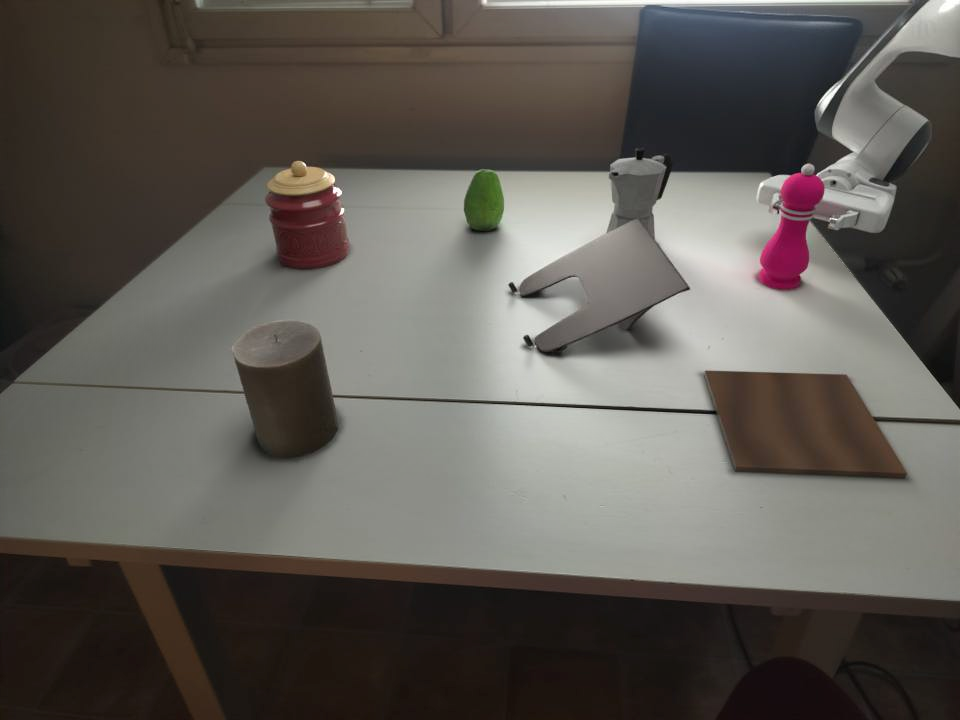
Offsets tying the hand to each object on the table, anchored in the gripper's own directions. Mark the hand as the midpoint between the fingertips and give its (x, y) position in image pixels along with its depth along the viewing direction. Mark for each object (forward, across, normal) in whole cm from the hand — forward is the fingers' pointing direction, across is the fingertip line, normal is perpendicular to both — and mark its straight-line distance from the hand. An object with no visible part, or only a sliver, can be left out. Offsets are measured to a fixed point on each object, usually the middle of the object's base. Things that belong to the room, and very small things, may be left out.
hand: (802, 216), depth 105 cm
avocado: (+19, -51, +11) cm, 56 cm away
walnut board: (+36, +17, +11) cm, 41 cm away
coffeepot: (+6, -26, +11) cm, 29 cm away
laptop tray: (+32, -17, +11) cm, 38 cm away
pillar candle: (+78, -26, +11) cm, 83 cm away
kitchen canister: (+48, -66, +11) cm, 83 cm away
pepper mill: (+3, 0, +11) cm, 11 cm away
